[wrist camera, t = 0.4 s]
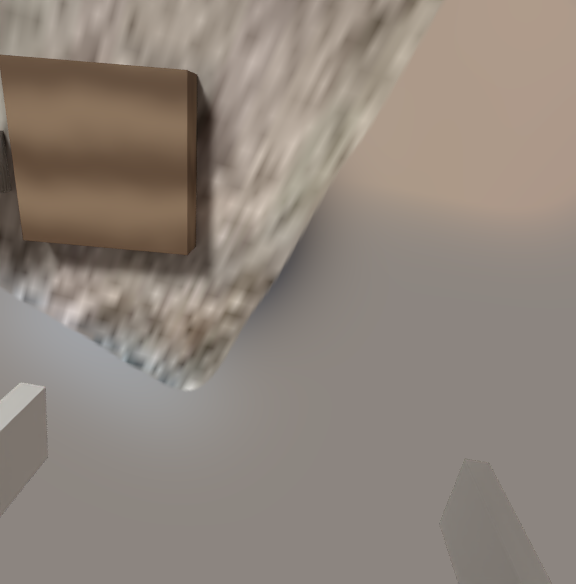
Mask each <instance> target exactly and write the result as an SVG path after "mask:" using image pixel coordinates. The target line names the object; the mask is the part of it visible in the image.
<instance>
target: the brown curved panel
mask: <svg viewBox="0 0 576 584" xmlns="http://www.w3.org/2000/svg"><path fill="white" fill-rule="evenodd" d="M0 70H1V78H2V85H3V93H4V100H5V108H6V115H7V123H8V130H9V138H10V145H11V153H12V160H13V167H14V175H15V182H16V190H17V197H18V205H19V212H20V220H21V227H22V235H23V240H27V241H38V242H49V243H60V244H71V245H82V246H93V247H104V248H115V249H126V250H137V251H148V252H159V253H170V254H181V255H188V254H189V253H190V252H191V251H192V250H193V249H194V248H195V247H196V178H197V74H194V73H192V72H190V71H188V70H179V69H167V68H155V67H143V66H131V65H119V64H107V63H95V62H82V61H70V60H58V59H46V58H34V57H22V56H10V55H0Z"/></svg>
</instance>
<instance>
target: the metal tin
mask: <svg viewBox="0 0 576 584" xmlns="http://www.w3.org/2000/svg"><path fill="white" fill-rule="evenodd" d="M8 191H11V185H10V178H9V171H8V163H7V156H6V149H5V142H4V134H3V131H0V193H4V192H8Z"/></svg>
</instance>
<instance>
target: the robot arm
mask: <svg viewBox="0 0 576 584" xmlns="http://www.w3.org/2000/svg"><path fill="white" fill-rule="evenodd" d="M46 418H47V415H46V389H45V387H44V386H38V385H32V384H27V383H20V384H18V386H16V387H15V388H14V389H13V390H12V391H10V392H9V393H8V394H7V395H6V396H5V397H4V398H3V399H2V400H0V517H1V516H2V515H3V514H4V512H5V511H6V510H7V508H8V507H9V506H10V505H11V503H12V502H13V501H14V499H15V498H16V497H17V496H18V495H19V493H20V492H21V491H22V490H23V488H24V487H25V486H26V484H27V483H28V482H29V481H30V479H31V478H32V477H33V476H34V474H35V473H36V472H37V470H38V469H39V468H40V467H41V466H42V464H43V463H44V462H45V460H46V459H47V458H48V444H47V443H48V441H47V419H46ZM439 524H440V527H441V531H442V534H443V537H444V540H445V543H446V546H447V550H448V552H449V556H450V559H451V562H452V565H453V568H454V572H455V575H456V578H457V581H458V584H552V583H551V581H550V579H549V577H548V575H547V573H546V571H545V569H544V567H543V566H542V564H541V562H540V560H539V558H538V556H537V554H536V553H535V550H534V548H533V546H532V544H531V543H530V541H529V539H528V537H527V535H526V533H525V531H524V529H523V527H522V525H521V523H520V521H519V519H518V518H517V516H516V514H515V512H514V510H513V508H512V506H511V504H510V502H509V500H508V498H507V497H506V495H505V493H504V491H503V489H502V487H501V485H500V483H499V481H498V479H497V477H496V475H495V474H494V472H493V470H492V468H491V466H490V464H489V463H487V462H481V461H475V460H470V459H464V462H463V465H462V467H461V470H460V472H459V475H458V477H457V480H456V482H455V485H454V488H453V490H452V492H451V495H450V497H449V500H448V503H447V505H446V508H445V510H444V513H443V515H442V518H441V520H440V523H439Z"/></svg>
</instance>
